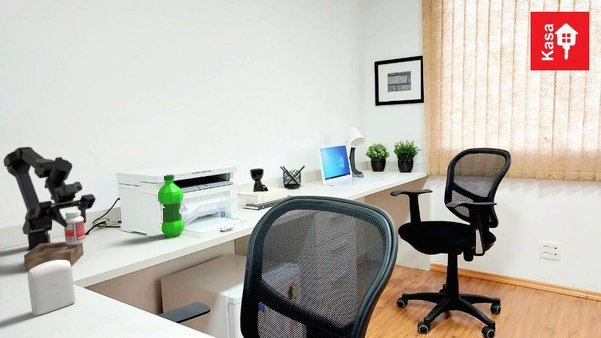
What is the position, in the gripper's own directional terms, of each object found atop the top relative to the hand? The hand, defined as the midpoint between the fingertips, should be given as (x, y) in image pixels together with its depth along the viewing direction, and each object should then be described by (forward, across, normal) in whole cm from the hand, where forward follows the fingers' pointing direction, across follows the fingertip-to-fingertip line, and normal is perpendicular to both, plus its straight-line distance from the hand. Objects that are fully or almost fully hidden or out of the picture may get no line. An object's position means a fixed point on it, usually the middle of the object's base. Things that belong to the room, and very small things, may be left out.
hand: (75, 224), depth 152 cm
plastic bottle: (+9, +38, +9) cm, 41 cm away
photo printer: (+33, -23, -16) cm, 43 cm away
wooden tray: (+5, -5, +13) cm, 15 cm away
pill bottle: (+4, 0, +6) cm, 7 cm away
